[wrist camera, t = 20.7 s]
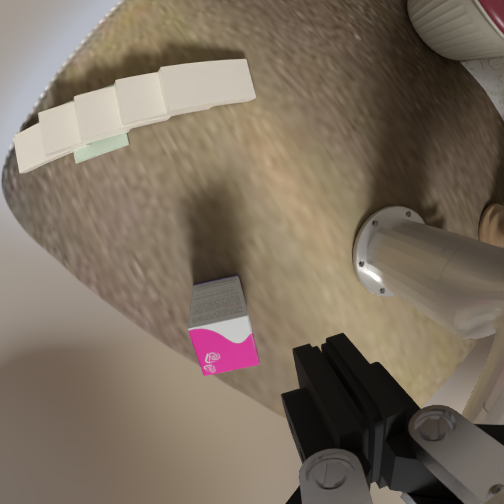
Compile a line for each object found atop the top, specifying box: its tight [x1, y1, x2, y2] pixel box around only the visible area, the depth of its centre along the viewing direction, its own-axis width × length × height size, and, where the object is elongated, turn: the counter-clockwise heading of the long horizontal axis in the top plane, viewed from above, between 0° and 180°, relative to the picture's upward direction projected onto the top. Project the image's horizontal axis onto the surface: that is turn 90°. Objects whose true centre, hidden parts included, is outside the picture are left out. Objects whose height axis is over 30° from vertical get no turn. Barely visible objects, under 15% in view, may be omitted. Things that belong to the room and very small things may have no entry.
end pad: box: [65, 84, 129, 164], centre depth 32 cm, size 7×8×1 cm
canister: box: [407, 0, 504, 60], centre depth 24 cm, size 18×18×21 cm
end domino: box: [14, 123, 90, 173], centre depth 31 cm, size 2×5×10 cm
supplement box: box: [188, 275, 259, 376], centre depth 34 cm, size 6×6×12 cm
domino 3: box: [114, 72, 212, 127], centre depth 30 cm, size 2×5×10 cm
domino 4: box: [157, 59, 256, 115], centre depth 31 cm, size 2×5×10 cm
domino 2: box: [74, 86, 171, 142], centre depth 30 cm, size 2×5×10 cm
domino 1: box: [38, 102, 130, 157], centre depth 30 cm, size 2×5×10 cm
